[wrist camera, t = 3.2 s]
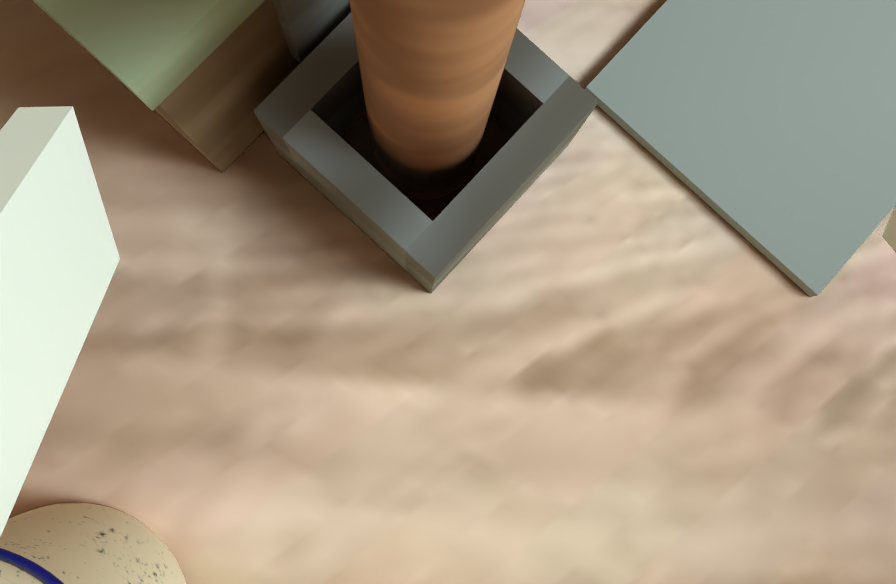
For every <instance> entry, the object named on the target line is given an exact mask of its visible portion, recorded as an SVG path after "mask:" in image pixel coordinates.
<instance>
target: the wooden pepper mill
mask: <svg viewBox="0 0 896 584" xmlns="http://www.w3.org/2000/svg"><path fill="white" fill-rule="evenodd" d="M524 3H525V0H350V7H351V13H352V20H353V26H354V33H355V39H356V46H357V52H358V59H359V65H360V72H361V78H362V84H363V91H364V97H365V104H366V110H367V117H368V123H369V130H370V136H371V143H372V149H373V155H374V160H375V164H376V167H377V169H378V171H379V173H380V174H382V175H383V176H384V177H385V178H386V179H387V180H388V181H389V182H390V183H391V184H393V185H394V186H395V187H396V188H397V189H398V190H399V191H400V192H401V193H402V194H403V195H405V196H407V197H411V198H415V199H424V200H428V199H435V198H440V197H443V196H445V195H447V194H449V193H451V192H453V191H454V190H456V189H457V188H458V187H459V186H460V185H461V184H463V182H464V181H465V180H466V179H467V177H468V176H469V174H470V172H471V170H472V168H473V165H474V161H475V158H476V155H477V152H478V149H479V146H480V142H481V139H482V136H483V133H484V130H485V127H486V123H487V120H488V117H489V114H490V111H491V108H492V104H493V101H494V98H495V95H496V92H497V89H498V85H499V82H500V79H501V76H502V73H503V70H504V66H505V63H506V60H507V57H508V54H509V50H510V47H511V44H512V41H513V38H514V35H515V31H516V28H517V25H518V22H519V19H520V16H521V12H522V9H523V6H524Z"/></svg>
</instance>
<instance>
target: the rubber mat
mask: <svg viewBox="0 0 896 584" xmlns="http://www.w3.org/2000/svg"><path fill="white" fill-rule="evenodd" d="M585 90H586V91H587V92H588V93H589V94H590V95H591V96H592V97H594V98H595V99H596V100H597V101H598V103H597V105H598V106H599V107H600V108H601V109H602V110H603V111H604V112H605V113H607V114H608V115H609V116H610V117H611V118H612V119H613V120H614V121H615V122H617V123H618V124H619V125H620V126H621V127H622V128H623V129H624V130H625V131H627V132H628V133H629V134H630V135H631V136H632V137H633V138H634V139H635V140H637V141H638V142H639V143H640V144H641V145H642V146H643V147H644V148H645V149H647V150H648V151H649V152H650V153H651V154H652V155H653V156H654V157H655V158H657V159H658V160H659V161H660V162H661V163H662V164H663V165H664V166H665V167H667V168H668V169H669V170H670V171H671V172H672V173H673V174H674V175H675V176H677V177H678V178H679V179H680V180H681V181H682V182H683V183H684V184H685V185H687V186H688V187H689V188H690V189H691V190H692V191H693V192H694V193H695V194H697V195H698V196H699V197H700V198H701V199H702V200H703V201H704V202H705V203H707V204H708V205H709V206H710V207H711V208H712V209H713V210H714V211H715V212H717V213H718V214H719V215H720V216H721V217H722V218H723V219H724V220H725V221H727V222H728V223H729V224H730V225H731V226H732V227H733V228H734V229H735V230H737V231H738V232H739V233H740V234H741V235H742V236H743V237H744V238H745V239H747V240H748V241H749V242H750V243H751V244H752V245H753V246H754V247H755V248H757V249H758V250H759V251H760V252H761V253H762V254H763V255H764V256H765V257H767V258H768V259H769V260H770V261H771V262H772V263H773V264H774V265H775V266H777V267H778V268H779V269H780V270H781V271H782V272H783V273H784V274H785V275H787V276H788V277H789V278H790V279H791V280H792V281H793V282H794V283H795V284H797V285H798V286H799V287H800V288H801V289H802V290H803V291H804V292H805V293H807V294H808V295H809V296H810V297H812V296H817V295H819V294H820V293H821V291H822V290H823V289H824V288H825V287H826V285H827V284H828V283H829V282H830V281H831V280H832V278H833V277H834V276H835V275H836V274H837V273H838V271H839V270H840V269H841V268H842V267H843V266H844V264H845V263H846V262H847V261H848V260H849V259H850V257H851V256H852V255H853V254H854V253H855V252H856V250H857V249H858V248H859V247H860V246H861V245H862V243H863V242H864V241H865V240H866V239H867V237H868V236H869V235H870V234H871V233H872V232H873V230H874V229H875V228H876V227H877V226H878V225H879V223H880V222H881V221H882V220H883V219H884V218H885V216H886V215H887V214H888V213H889V212H890V211H891V209H892V208H893V207H894V206H895V205H896V0H667V1H666V2H665V3H664V4H663V5H662V6H661V7H660V8H659V9H658V10H657V12H656V13H655V14H654V15H653V16H652V17H651V18H650V19H649V20H648V21H647V22H646V23H645V24H644V25H643V27H642V28H641V29H640V30H639V31H638V32H637V33H636V34H635V35H634V36H633V37H632V38H631V39H630V40H629V42H628V43H627V44H626V45H625V46H624V47H623V48H622V49H621V50H620V51H619V52H618V53H617V54H616V55H615V57H614V58H613V59H612V60H611V61H610V62H609V63H608V64H607V65H606V66H605V67H604V68H603V69H602V70H601V72H600V73H599V74H598V75H597V76H596V77H595V78H594V79H593V80H592V81H591V82H590V83H589V84H588V85H587V87H586V88H585Z"/></svg>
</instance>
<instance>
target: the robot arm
mask: <svg viewBox="0 0 896 584" xmlns="http://www.w3.org/2000/svg"><path fill="white" fill-rule="evenodd" d="M882 237H883V238H884V239H885V240H886V241H887V242H888V244H889V245H890V246H891V247H892V248H893V250H894V251H895V252H896V205H895V207H894V210H893V212H892V214H891V217H890V219H889V221H888V224H887V226H886V228H885V231H884V233H883V236H882ZM119 260H120V257H119V254H118V251H117V248H116V244H115V241H114V238H113V235H112V231H111V228H110V225H109V222H108V218H107V215H106V212H105V209H104V206H103V202H102V199H101V196H100V193H99V189H98V186H97V183H96V180H95V177H94V173H93V170H92V167H91V164H90V160H89V157H88V154H87V151H86V147H85V144H84V141H83V138H82V135H81V131H80V128H79V125H78V122H77V118H76V115H75V112H74V109H73V106H60V107H18V109H17V110H16V111H15V113H14V114H13V115H12V116H11V118H10V119H9V120H8V121H7V123H6V124H5V125H4V126H3V128H2V129H1V130H0V537H1V534H2V532H3V530H4V527H5V525H6V523H7V520H8V518H9V516H10V514H11V511H12V509H13V507H14V504H15V502H16V500H17V497H18V495H19V493H20V490H21V488H22V486H23V483H24V481H25V479H26V476H27V474H28V472H29V469H30V467H31V465H32V462H33V460H34V458H35V455H36V453H37V451H38V448H39V446H40V444H41V441H42V439H43V437H44V434H45V432H46V430H47V427H48V425H49V423H50V420H51V418H52V416H53V413H54V411H55V409H56V407H57V404H58V402H59V400H60V397H61V395H62V393H63V390H64V388H65V386H66V383H67V381H68V379H69V376H70V374H71V372H72V369H73V367H74V365H75V362H76V360H77V358H78V355H79V353H80V351H81V348H82V346H83V344H84V341H85V339H86V337H87V334H88V332H89V330H90V327H91V325H92V323H93V320H94V318H95V316H96V313H97V311H98V309H99V307H100V304H101V302H102V300H103V297H104V295H105V293H106V290H107V288H108V286H109V283H110V281H111V279H112V276H113V274H114V272H115V269H116V267H117V265H118V262H119Z"/></svg>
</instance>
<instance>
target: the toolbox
mask: <svg viewBox="0 0 896 584" xmlns="http://www.w3.org/2000/svg"><path fill="white" fill-rule="evenodd" d="M32 1H33V2H34V3H36V4H37V5H38V6H39V7H40V8H41V9H42V10H43V11H44V12H45V13H46V14H47V15H49V16H50V17H51V18H52V19H53V20H54V21H55V22H56V23H57V24H58V25H59V26H61V27H62V28H63V29H64V30H65V31H66V32H67V33H68V34H69V35H70V36H71V37H72V38H74V39H75V40H76V41H77V42H78V43H79V44H80V45H81V46H82V47H83V48H84V49H85V50H87V51H88V52H89V53H90V54H91V55H92V56H93V57H94V58H95V59H96V60H97V61H98V62H100V63H101V64H102V65H103V66H104V67H105V68H106V69H107V70H108V71H109V72H110V73H111V74H113V75H114V76H115V77H116V78H117V79H118V80H119V81H120V82H121V83H122V84H123V85H124V86H126V87H127V88H128V89H129V90H130V91H131V92H132V93H133V94H134V95H135V96H136V97H137V98H139V99H140V100H141V101H142V102H143V103H144V104H145V105H146V106H147V107H148V108H149V109H150V110H152V111H153V110H155V111H156V112H157V113H158V114H159V115H160V116H161V117H162V118H163V119H165V120H166V121H167V122H168V123H169V124H170V125H171V126H172V127H173V128H174V129H175V130H176V131H178V132H179V133H180V134H181V135H182V136H183V137H184V138H185V139H186V140H187V141H188V142H189V143H191V144H192V145H193V146H194V147H195V148H196V149H197V150H198V151H199V152H200V153H201V154H203V155H204V156H205V157H206V158H207V159H208V160H209V161H210V162H211V163H212V164H213V165H214V166H216V167H217V168H218V169H219V170H220V171H221V172H222V173H223V172H224V171H225V170H226V169H227V168H228V167H229V166H230V165H231V164H232V163H233V162H234V161H235V160H236V159H237V158H238V157H239V156H240V155H241V154H242V153H243V152H244V151H245V150H246V149H247V148H248V147H249V146H250V145H251V144H252V142H253V141H254V140H255V139H256V138H257V137H258V136H259V135H260V134H261V133H262V132H263V131H264V130H265V132H266V134H267V135H268V137H269V139H270V141H271V142H272V144H273V146H274V147H275V149H276V151H277V153H278V154H279V155H280V156H281V157H283V158H284V159H285V160H286V161H287V162H288V163H289V164H290V165H291V166H292V167H293V168H295V169H296V170H297V171H298V172H299V173H300V174H301V175H302V176H303V177H304V178H305V179H306V180H308V181H309V182H310V183H311V184H312V185H313V186H314V187H315V188H316V189H317V190H318V191H320V192H321V193H322V194H323V195H324V196H325V197H326V198H327V199H328V200H329V201H330V202H332V203H333V204H334V205H335V206H336V207H337V208H338V209H339V210H340V211H341V212H342V213H344V214H345V215H346V216H347V217H348V218H349V219H350V220H351V221H352V222H353V223H354V224H355V225H357V226H358V227H359V228H360V229H361V230H362V231H363V232H364V233H365V234H366V235H367V236H369V237H370V238H371V239H372V240H373V241H374V242H375V243H376V244H377V245H378V246H379V247H381V248H382V249H383V250H384V251H385V252H386V253H387V254H388V255H389V256H390V257H391V258H393V259H394V260H395V261H396V262H397V263H398V264H399V265H400V266H401V267H402V268H403V269H405V270H406V271H407V272H408V273H409V274H410V275H411V276H412V277H413V278H414V279H415V280H416V281H418V282H419V283H420V284H421V285H422V286H423V287H424V288H425V289H426V290H427V291H428V292H430V293H432V292H433V290H434V289H435V288H436V287H437V286H438V285H439V284H440V283H441V282H442V281H443V280H444V279H445V278H446V276H447V275H448V274H449V273H450V272H451V271H452V270H453V269H454V268H455V267H456V266H457V265H458V263H459V262H460V261H461V260H462V259H463V258H464V257H465V256H466V255H467V254H468V253H469V252H470V251H471V249H472V248H473V247H474V246H475V245H476V244H477V243H478V242H479V241H480V240H481V239H482V238H483V237H484V235H485V234H486V233H487V232H488V231H489V230H490V229H491V228H492V227H493V226H494V225H495V224H496V222H497V221H498V220H499V219H500V218H501V217H502V216H503V215H504V214H505V213H506V212H507V211H508V210H509V208H510V207H511V206H512V205H513V204H514V203H515V202H516V201H517V200H518V199H519V198H520V197H521V196H522V194H523V193H524V192H525V191H526V190H527V189H528V188H529V187H530V186H531V185H532V184H533V183H534V181H535V180H536V179H537V178H538V177H539V176H540V175H541V174H542V173H543V172H544V171H545V170H546V169H547V167H548V166H549V165H550V164H551V163H552V162H553V161H554V160H555V159H556V158H557V157H558V156H559V155H560V153H561V152H562V151H563V150H564V149H565V148H566V147H567V146H568V145H569V143H570V142H571V140H572V139H573V138H574V136H575V135H576V133H577V132H578V131H579V129H580V128H581V126H582V125H583V123H584V122H585V121H586V119H587V118H588V116H589V115H590V113H591V112H592V111H593V109H594V108H595V106H596V105H597V103H598V101H597V100H596V99H595V98H594V97H592V96H591V95H590V94H589V93H588V92H587V91H586V90H585V89H584V88H582V87H581V86H580V85H579V84H578V83H577V82H576V81H575V80H574V79H572V78H571V77H570V76H569V75H568V74H567V73H566V72H565V71H564V70H562V69H561V68H560V67H559V66H558V65H557V64H556V63H555V62H554V61H552V60H551V59H550V58H549V57H548V56H547V55H546V54H545V53H544V52H542V51H541V50H540V49H539V48H538V47H537V46H536V45H535V44H534V43H532V42H531V41H530V40H529V39H528V38H527V37H526V36H525V35H524V34H522V33H521V32H520V31H519V30H518V29H517V28H516V31H515V35H514V38H513V41H512V44H511V47H510V50H509V54H508V57H507V60H506V63H505V66H504V70H503V73H502V76H501V79H500V82H499V85H498V89H497V92H496V95H495V98H494V101H493V104H492V108H491V111H490V114H489V117H490V118H491V119H492V120H494V121H495V122H496V123H497V124H498V125H499V126H500V127H501V128H502V129H503V130H505V131H506V132H507V133H508V134H509V135H510V136H511V137H512V138H511V139H510V140H509V141H508V142H507V143H506V144H505V145H504V146H503V147H502V148H501V149H500V150H499V151H498V152H497V153H496V155H495V156H494V157H493V158H492V159H491V160H490V161H489V162H488V163H487V164H486V165H485V166H484V167H483V168H482V169H481V171H480V172H479V173H478V174H477V175H476V176H475V177H474V178H473V179H472V180H471V181H470V182H469V183H468V184H467V185H466V186H465V188H464V189H463V190H462V191H461V192H460V193H459V194H458V195H457V196H456V197H455V198H454V199H453V200H452V201H451V202H450V204H449V205H448V206H447V207H446V208H445V209H444V210H443V211H442V212H441V213H440V214H439V215H438V216H437V217H436V218H435V220H434V221H432V220H431V219H430V218H429V217H428V216H426V215H425V214H424V213H423V212H422V211H421V210H420V209H419V208H418V207H417V206H415V205H414V204H413V203H412V202H411V201H410V200H409V199H408V198H407V197H406V196H405V195H403V194H402V193H401V192H400V191H399V190H398V189H397V188H396V187H395V186H394V185H393V184H391V183H390V182H389V181H388V180H387V179H386V178H385V177H384V176H383V175H382V174H380V173H379V172H378V171H377V170H376V169H375V168H374V167H373V166H372V165H371V164H370V163H368V162H367V161H366V160H365V159H364V158H363V157H362V156H361V155H360V154H359V153H358V152H356V151H355V150H354V149H353V148H352V147H351V146H350V145H349V144H348V143H347V142H345V141H344V140H343V139H342V138H341V136H342V135H343V134H344V133H345V132H346V131H347V130H348V129H349V128H350V127H351V126H352V125H353V124H354V122H355V121H356V120H357V119H358V118H359V117H360V116H361V115H362V114H363V113H364V112H365V111H366V104H365V97H364V91H363V84H362V78H361V72H360V65H359V59H358V52H357V46H356V39H355V33H354V26H353V20H352V13H351V7H350V0H32Z"/></svg>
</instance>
